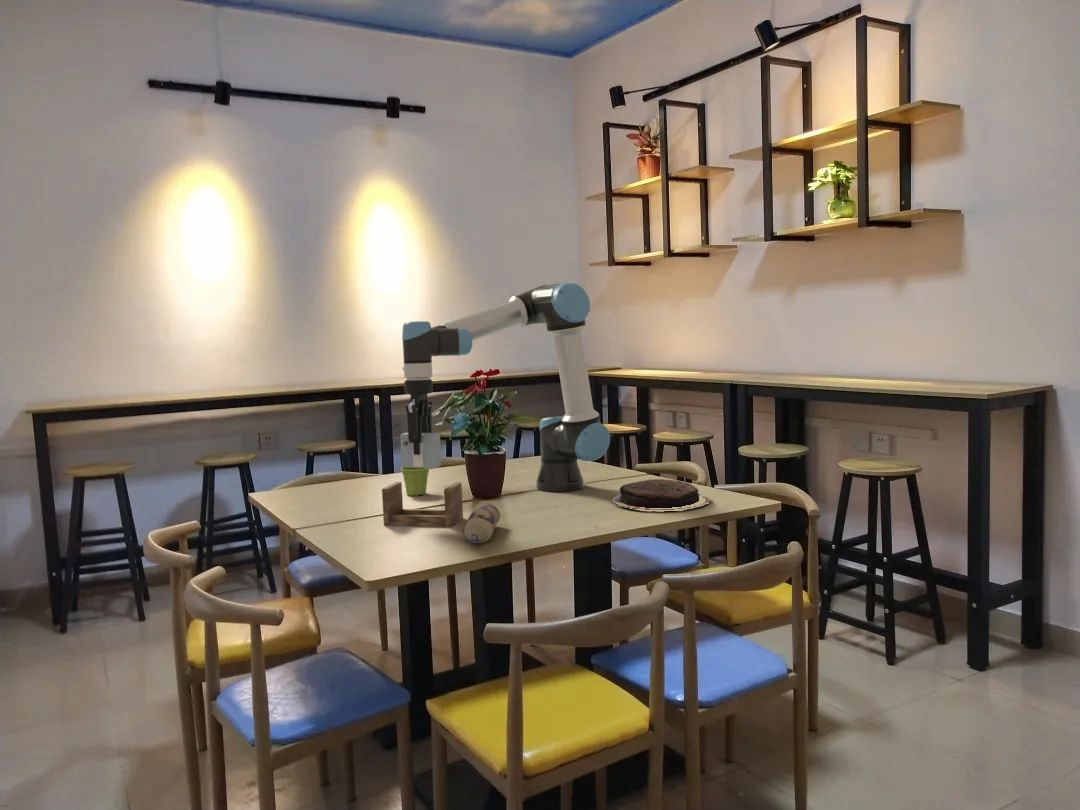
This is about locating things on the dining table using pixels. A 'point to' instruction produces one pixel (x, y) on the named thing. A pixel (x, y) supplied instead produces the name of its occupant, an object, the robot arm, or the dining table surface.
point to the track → (421, 517)
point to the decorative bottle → (481, 523)
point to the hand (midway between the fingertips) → (421, 465)
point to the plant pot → (415, 480)
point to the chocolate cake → (658, 495)
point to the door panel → (429, 450)
